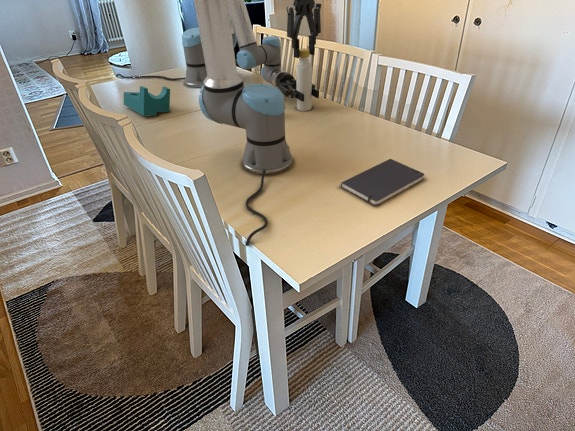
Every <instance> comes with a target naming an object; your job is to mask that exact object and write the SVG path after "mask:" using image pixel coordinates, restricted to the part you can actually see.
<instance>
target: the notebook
mask: <svg viewBox="0 0 575 431" xmlns="http://www.w3.org/2000/svg"><path fill="white" fill-rule="evenodd" d="M424 176H425V173H424V172H422V171H420V170H417V169H415V168H413V167H410V166H408V165H406V164H404V163H401V162H399V161H397V160H395V159H393V158H389V159H387V160H385V161H382V162H380V163H379V164H377V165H375V166H372V167H370V168H368V169H366V170H364V171H362V172H360V173H358V174H356V175H353V176H351V177H350V178H348V179H345V180H344V181H341V182H340V183H341V184H340V187H341V188H342V189H344V190H345V191H347V192H349V193H350V194H353V195H355V196H356V197H358V198H360V199H362V200H363V201H365V202H367V203H369V204H371V205H373V206H379V205H381V204H382V203H384V202H386V201H388V200H390V199H391V198H393V197H395V196H397V195H398V194H400V193H402V192H404V191H406V190H407V189H409V188H411V187H413V186H415V185H416V184H418V183H420V182H422V181H423V180H424Z"/></svg>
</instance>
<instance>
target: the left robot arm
mask: <svg viewBox="0 0 575 431" xmlns="http://www.w3.org/2000/svg"><path fill="white" fill-rule="evenodd" d="M227 3H228V11H229V18H230V25H231V33H232V40H233V47H234V48H235V47H236V45H237V46H238V52H237V54H236V64H237V65H238V66H239V67H240V68H241V69H243V70H250V69H254V68H256V67H259V66H262V65H263V66H262V68H261V70H260V74H261V75H260V76H261V78H262V79H263V80H264V81H265V82H266V83H267V84H270V85H272V86H275V87H277V88H278V89H279V90H280V91H281V92H282V94H283V96H285V97H286V98H289V97H290V99H294V98H295V99H296V100H297V99H299V100H300V101H302V102H303V101H304V94H302V93H301V92H299V91H297V87H296V79H295V77H294V75H292V74H291V73H289V72H287V71H285V70H283V69H282V53H281V52H282V50H281V48H282V46H281V39H280V37H278V36H276V35H275V36H274V35H270V36H265V37H263V38H262V44H259V45H258V42H257V40H256V37H255V32H254V29H253V25H252V22H251V19H250V16H249V11H248V9H247V5H246V1H245V0H227ZM181 44H182V47H183V54H184V59H185V66H186V68H185V69H186V70H185V77H174V78H173V77H167V76H165V75H136V76H135V75H134V76H124V75H122V74H121V73H117V74H116V75H115V77H116V78H118V77H121V78H122V79H127V80H128V79H129V80H130V79H142V78H144V79H145V78H146V79H147V78H158V79H164V80H169V81H181V80H184V83H185V86H187V87H190V88H202V86H203V85H204V80H205V78H206V77H207V71H206V65H205V60H204V54H203V49H202V43H201V38H200V33H199V27H198V26H197V27H192V28H189V29H187V30H185V31H183V33H182V34H181ZM139 76H140V77H139ZM133 77H135V78H133ZM312 97H313V98H315V99H319V97H320V90H318V89H316V84H314V83H312Z"/></svg>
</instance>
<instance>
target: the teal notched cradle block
mask: <svg viewBox="0 0 575 431" xmlns="http://www.w3.org/2000/svg"><path fill="white" fill-rule="evenodd" d="M123 105H124V106H126V107H128V109H131V110H133V111H134V112H136V113H138V114H139V115H141V116H143V117H156V116H158V113H170V109H171V108H170V105H171V88H169V87H166V86H162V87H161V91H160V93H159V94H158V95H155V94H153V93H151V92H149V89H148V88H147V87H145V86H141V85H140V86H139V91H123Z"/></svg>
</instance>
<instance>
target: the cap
mask: <svg viewBox="0 0 575 431" xmlns="http://www.w3.org/2000/svg"><path fill="white" fill-rule="evenodd" d="M309 53H310V51H309V48H299V58H300V59H301V58H307V57H308V58H309V57H310V54H309Z"/></svg>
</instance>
